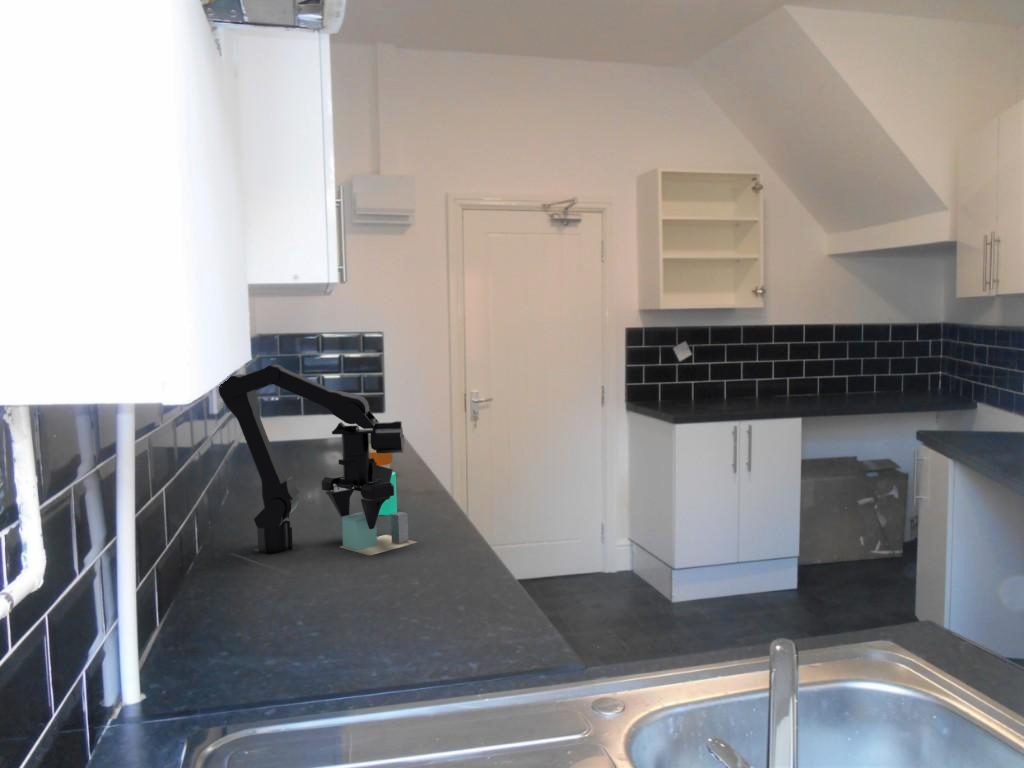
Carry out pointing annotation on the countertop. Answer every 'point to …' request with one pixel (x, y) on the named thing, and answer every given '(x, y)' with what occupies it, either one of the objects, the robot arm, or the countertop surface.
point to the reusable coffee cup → (380, 456)
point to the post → (399, 527)
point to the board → (381, 546)
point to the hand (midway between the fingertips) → (358, 525)
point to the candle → (390, 500)
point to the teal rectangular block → (358, 532)
